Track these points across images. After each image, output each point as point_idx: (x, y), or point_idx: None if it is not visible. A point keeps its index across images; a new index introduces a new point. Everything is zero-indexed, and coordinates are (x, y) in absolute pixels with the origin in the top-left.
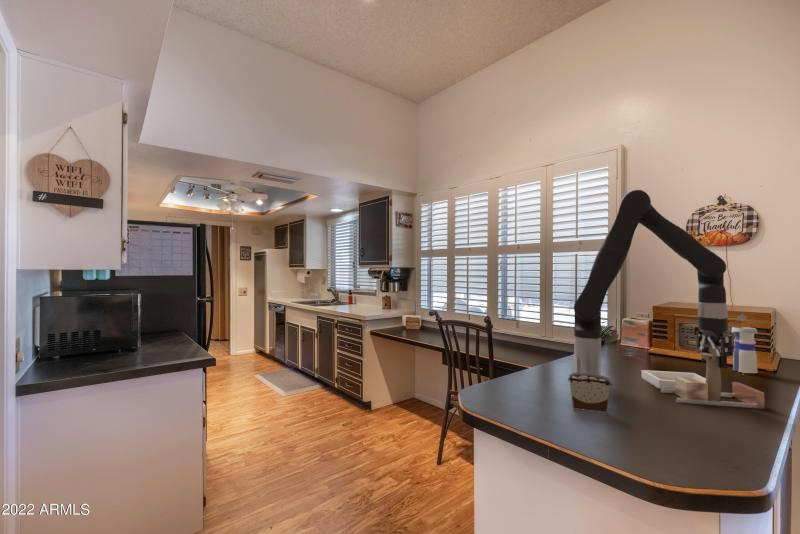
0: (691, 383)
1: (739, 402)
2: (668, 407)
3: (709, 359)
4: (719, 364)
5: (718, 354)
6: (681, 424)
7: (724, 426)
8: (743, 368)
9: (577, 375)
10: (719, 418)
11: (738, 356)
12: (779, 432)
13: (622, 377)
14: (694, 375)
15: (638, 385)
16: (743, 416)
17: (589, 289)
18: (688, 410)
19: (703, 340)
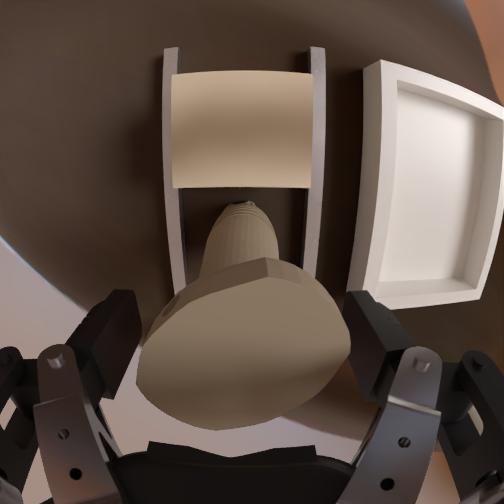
0: (171, 100)
1: (181, 280)
2: (108, 13)
3: (180, 291)
4: (107, 304)
5: (48, 352)
6: (6, 37)
7: (3, 127)
8: (470, 414)
9: None
10: (42, 136)
11: None
12: (10, 240)
13: (476, 43)
14: (465, 288)
15: (393, 21)
16: (78, 221)
17: None
18: (88, 65)
19: (372, 496)
